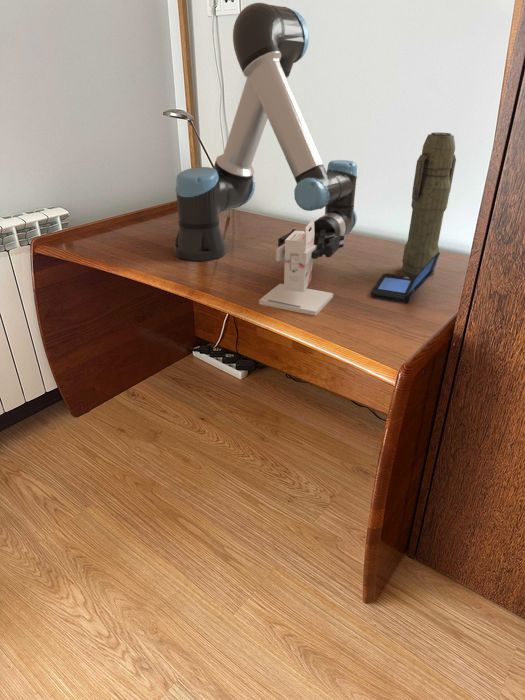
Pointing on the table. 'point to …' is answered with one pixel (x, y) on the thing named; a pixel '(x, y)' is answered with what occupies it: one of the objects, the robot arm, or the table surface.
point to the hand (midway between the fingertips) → (291, 257)
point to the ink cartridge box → (298, 259)
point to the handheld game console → (402, 284)
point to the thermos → (429, 201)
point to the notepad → (297, 300)
